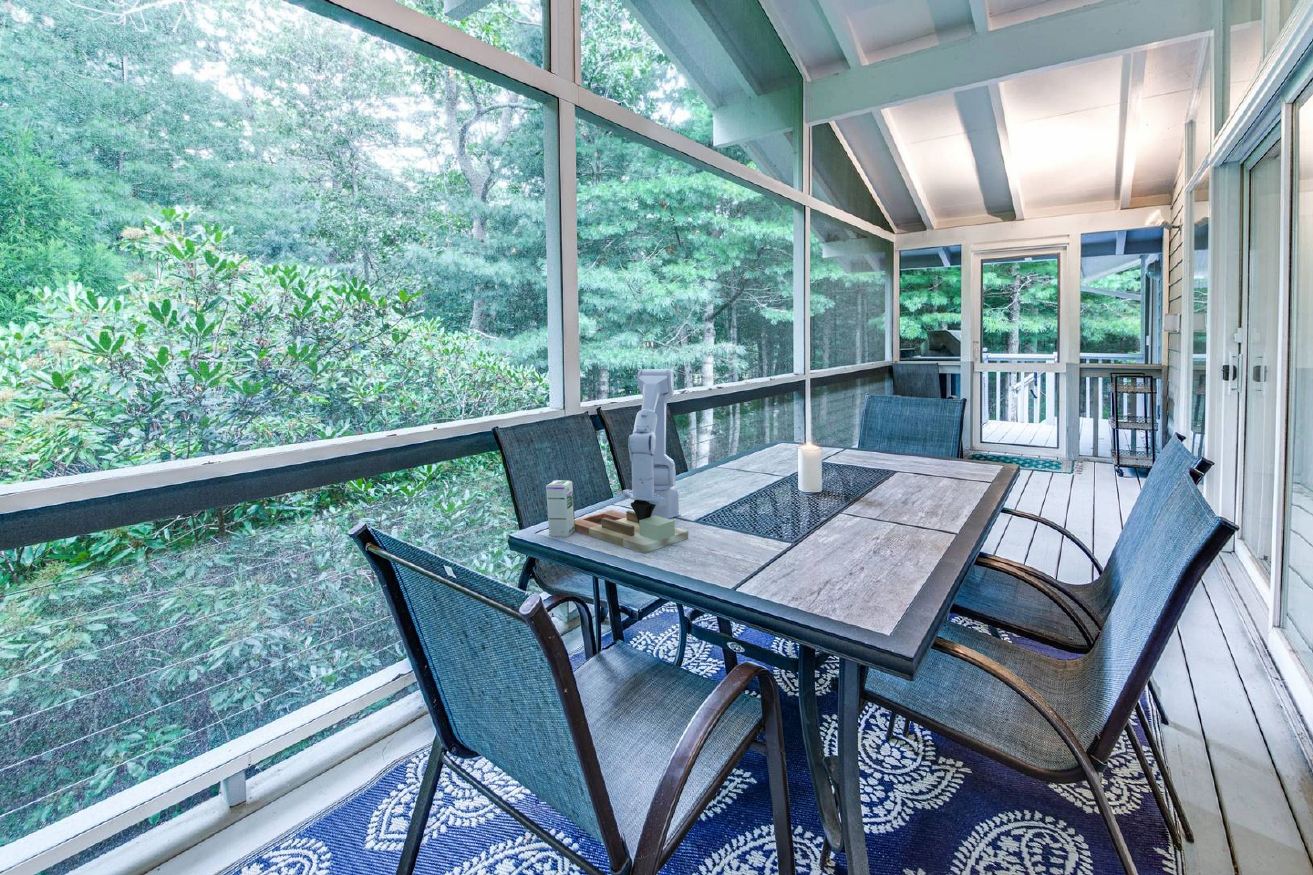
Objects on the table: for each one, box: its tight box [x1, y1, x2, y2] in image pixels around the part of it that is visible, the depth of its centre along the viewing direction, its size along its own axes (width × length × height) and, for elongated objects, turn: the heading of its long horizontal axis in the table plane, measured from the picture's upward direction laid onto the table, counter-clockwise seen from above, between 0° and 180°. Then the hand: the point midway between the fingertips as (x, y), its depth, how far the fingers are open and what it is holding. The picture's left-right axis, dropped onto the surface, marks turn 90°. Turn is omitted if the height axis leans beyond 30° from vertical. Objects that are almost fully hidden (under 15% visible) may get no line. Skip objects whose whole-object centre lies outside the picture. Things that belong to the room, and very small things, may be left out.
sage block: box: [639, 516, 676, 541], centre depth 163 cm, size 6×7×4 cm
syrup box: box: [545, 479, 576, 537], centre depth 172 cm, size 6×6×14 cm
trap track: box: [574, 509, 689, 554], centre depth 172 cm, size 16×31×4 cm, turn 44°
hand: (644, 527), depth 166 cm, fingers closed
